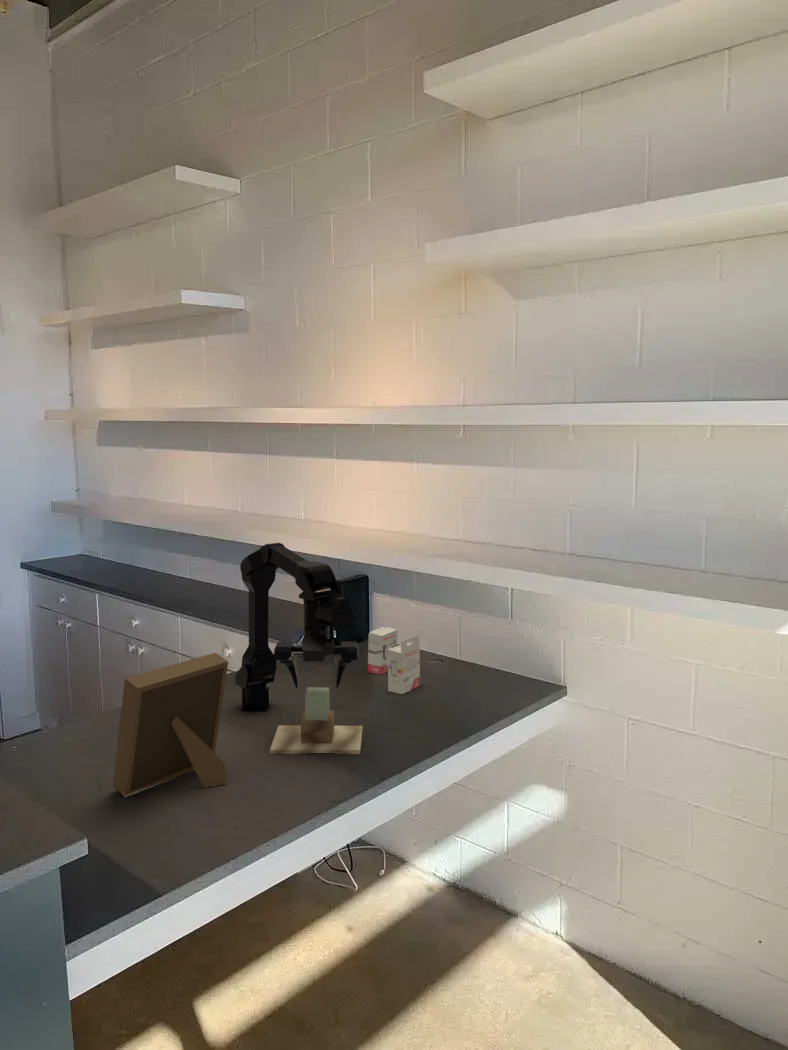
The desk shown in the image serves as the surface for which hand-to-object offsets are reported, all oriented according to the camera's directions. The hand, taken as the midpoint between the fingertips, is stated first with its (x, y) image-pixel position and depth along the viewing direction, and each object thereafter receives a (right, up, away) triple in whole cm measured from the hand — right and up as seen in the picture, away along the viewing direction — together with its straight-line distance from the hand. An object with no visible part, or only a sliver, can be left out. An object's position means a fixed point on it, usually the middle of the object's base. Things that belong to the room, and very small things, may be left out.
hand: (317, 687), depth 193 cm
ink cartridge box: (+20, -8, +37) cm, 43 cm away
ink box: (+14, -5, +53) cm, 55 cm away
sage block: (0, -7, +1) cm, 7 cm away
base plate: (0, -13, +2) cm, 13 cm away
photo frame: (-26, -16, -20) cm, 37 cm away
